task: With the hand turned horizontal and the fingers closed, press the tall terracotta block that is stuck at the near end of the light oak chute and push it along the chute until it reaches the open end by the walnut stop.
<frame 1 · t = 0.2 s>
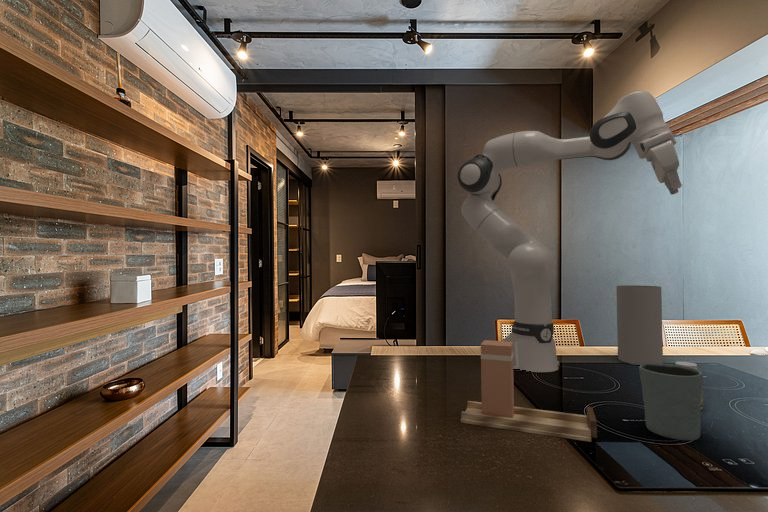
hand: (676, 191, 105), 52 cm above the kitchen island, tool tilted 20°, fingers open, 8 cm apart
chute: (523, 422, 81), on the kitchen island
block: (497, 378, 83), point 9 cm above the kitchen island, slide at 0.0 cm
cylinder vase: (639, 362, 130), on the kitchen island
supplement bottle: (687, 407, 89), on the kitchen island
green cup: (670, 431, 77), on the kitchen island
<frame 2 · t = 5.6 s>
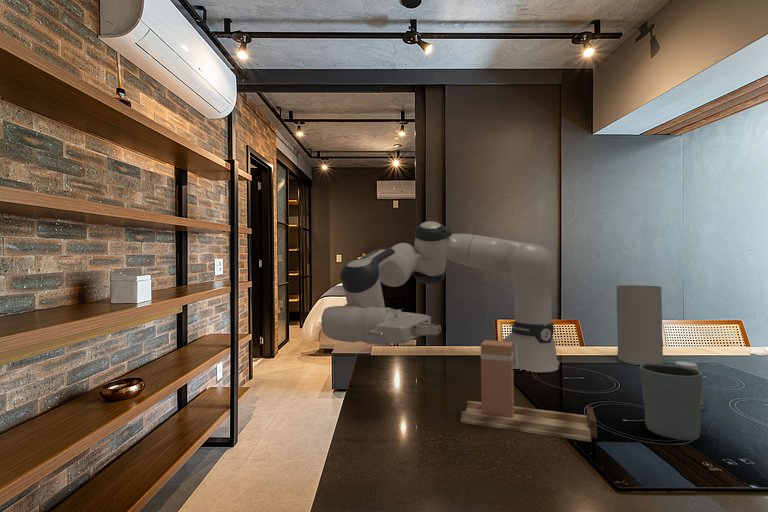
hand: (439, 330, 88), 18 cm above the kitchen island, tool horizontal, fingers closed
nothing on the kitchen island moved.
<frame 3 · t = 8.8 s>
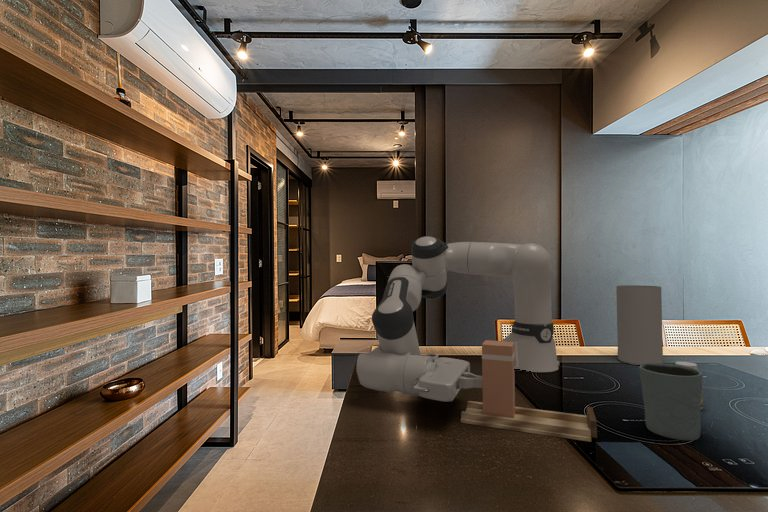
hand: (484, 382, 84), 7 cm above the kitchen island, tool horizontal, fingers closed, pressing on block
block: (498, 378, 83), point 9 cm above the kitchen island, slide at 0.2 cm, touching gripper
everything else where it was.
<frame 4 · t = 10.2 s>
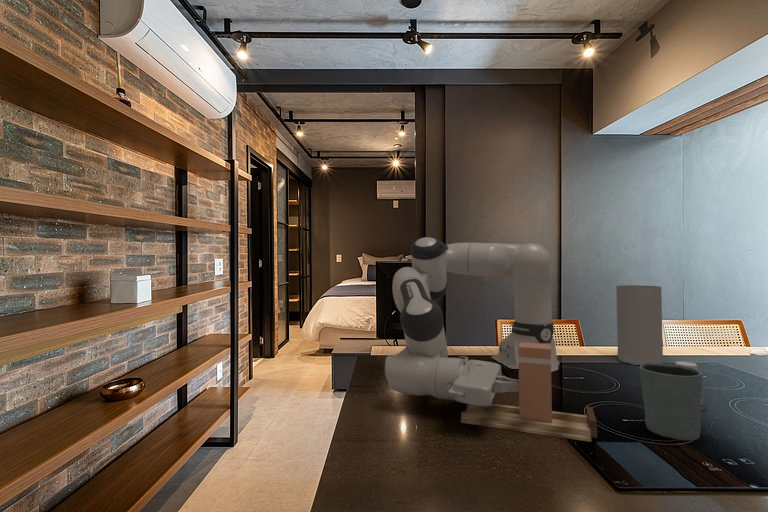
hand: (519, 385, 81), 7 cm above the kitchen island, tool horizontal, fingers closed, pressing on block
block: (535, 382, 80), point 9 cm above the kitchen island, slide at 7.4 cm, touching gripper
everything else where it was.
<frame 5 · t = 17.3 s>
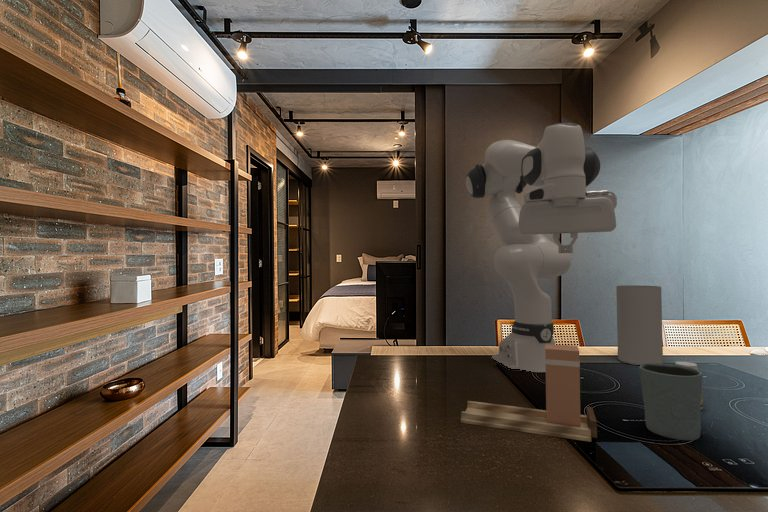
hand: (565, 253, 90), 35 cm above the kitchen island, tool pointing down, fingers closed
block: (562, 385, 78), point 9 cm above the kitchen island, slide at 12.4 cm
everything else where it was.
at the end: block slide at 12.4 cm; the gripper is holding nothing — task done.
